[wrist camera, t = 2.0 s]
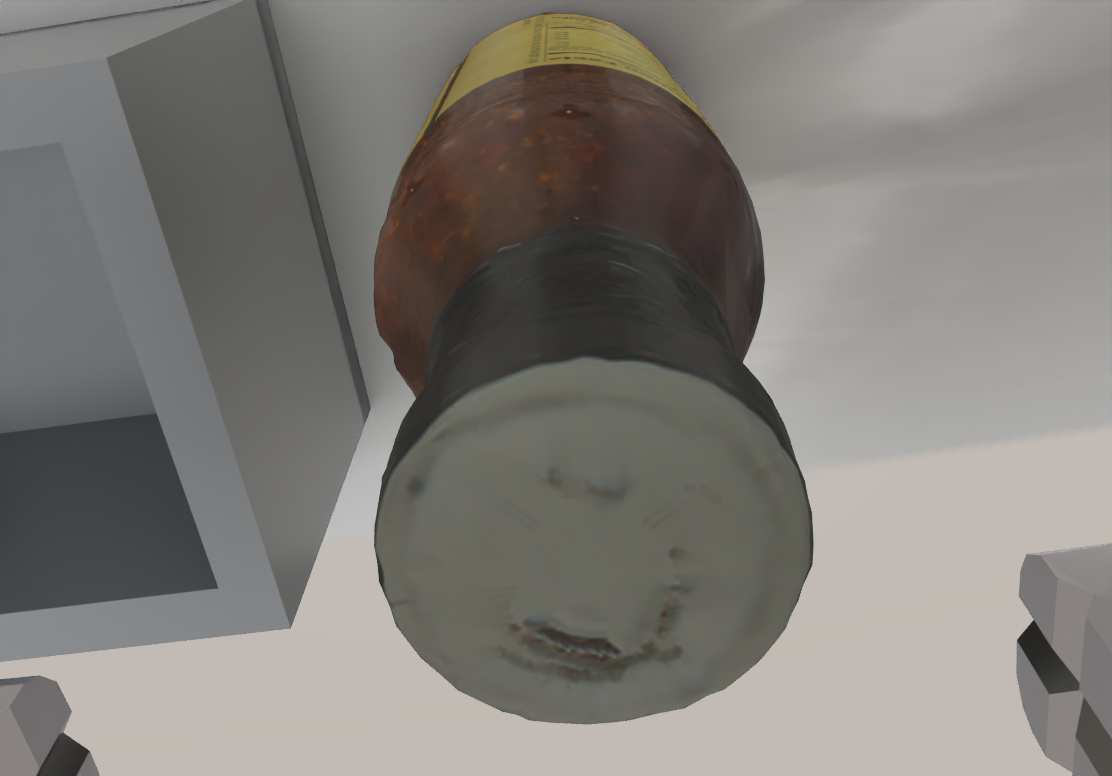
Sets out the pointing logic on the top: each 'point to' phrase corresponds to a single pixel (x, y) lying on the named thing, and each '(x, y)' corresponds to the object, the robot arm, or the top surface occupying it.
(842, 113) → the top surface
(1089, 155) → the top surface
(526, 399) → the sauce bottle
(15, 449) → the bin
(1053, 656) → the robot arm
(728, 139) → the top surface
